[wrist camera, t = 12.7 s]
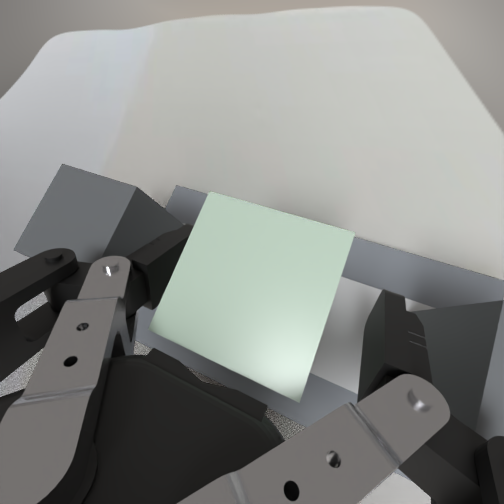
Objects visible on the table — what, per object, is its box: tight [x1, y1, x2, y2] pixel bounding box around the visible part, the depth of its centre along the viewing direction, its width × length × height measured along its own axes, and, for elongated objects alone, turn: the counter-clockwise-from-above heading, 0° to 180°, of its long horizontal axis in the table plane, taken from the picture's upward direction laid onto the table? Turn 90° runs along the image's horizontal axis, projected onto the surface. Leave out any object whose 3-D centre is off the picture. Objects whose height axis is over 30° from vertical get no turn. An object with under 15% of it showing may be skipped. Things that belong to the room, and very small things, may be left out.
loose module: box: [148, 191, 355, 403], centre depth 12 cm, size 4×5×10 cm
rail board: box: [14, 164, 504, 482], centre depth 14 cm, size 23×12×10 cm, turn 68°
